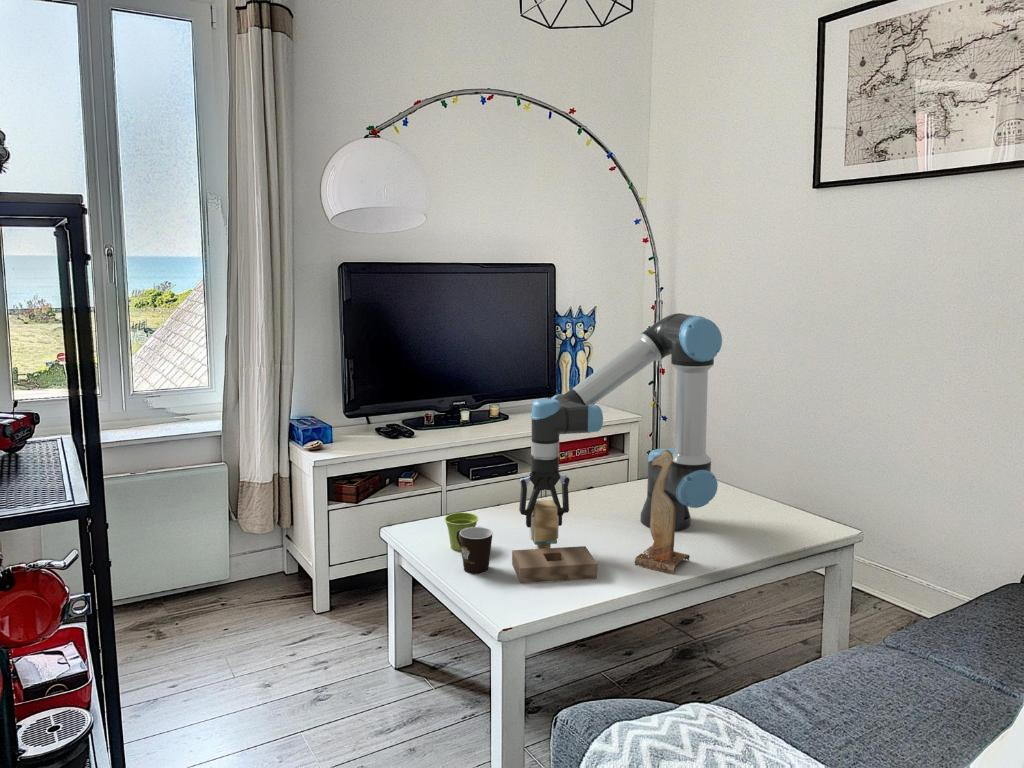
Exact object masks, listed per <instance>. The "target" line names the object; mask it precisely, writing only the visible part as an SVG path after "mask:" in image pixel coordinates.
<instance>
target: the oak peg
mask: <svg viewBox="0 0 1024 768" xmlns="http://www.w3.org/2000/svg"><path fill="white" fill-rule="evenodd" d="M532 514H533V516H534V540H532V541H533V544H534V545H535V546H536V549H544V548H552V546H551V545H554V544H556V545H557V544H558V539H557V506H556V505H555V503H554V501H553V499H550V500H549V499H546V500H543V499H542V500H537V501H536V504H535V506H534V509H533V512H532Z"/></svg>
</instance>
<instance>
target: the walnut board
mask: <svg viewBox="0 0 1024 768" xmlns="http://www.w3.org/2000/svg"><path fill="white" fill-rule="evenodd" d="M598 564H599V563H598V562H597V561H596V559H595V558H594V556H593V555H592V553H591V552H590V551H589V549H588V548H587V547H586V545H583V546H582V545H581V546H564V547H562V546H561V547H551V548H544V549H537V548H532V549H530V548H529V549H514V550H513V549H512V551H511V565H512V568H513V570H514V572H515V575H516V577H517V579H518V582H519V584H531V583H549V582H550V583H551V582H561V581H562V582H564V581H577V580H579V581H580V580H581V581H582V580H593V579H594V580H596V579H598Z"/></svg>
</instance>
